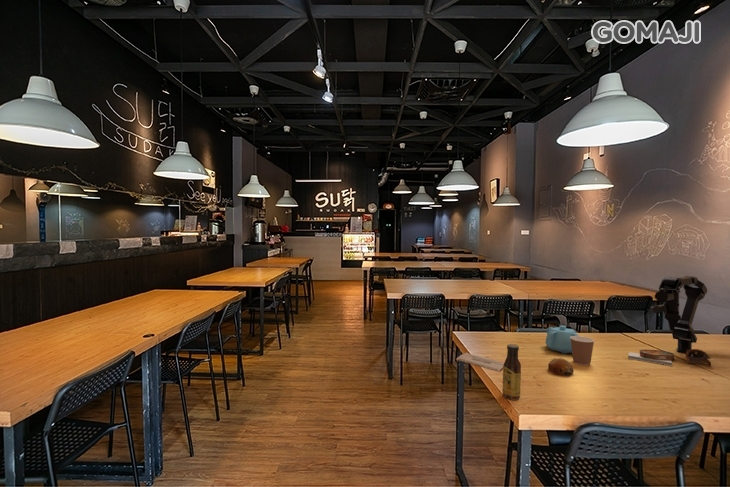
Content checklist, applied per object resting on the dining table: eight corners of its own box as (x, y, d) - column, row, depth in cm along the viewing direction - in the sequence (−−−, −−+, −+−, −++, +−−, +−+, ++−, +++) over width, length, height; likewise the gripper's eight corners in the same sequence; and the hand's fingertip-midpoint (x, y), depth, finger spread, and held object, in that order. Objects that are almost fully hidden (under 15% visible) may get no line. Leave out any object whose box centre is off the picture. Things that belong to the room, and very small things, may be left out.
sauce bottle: (499, 393, 135) (500, 342, 135) (514, 393, 135) (515, 342, 135) (507, 401, 128) (508, 348, 128) (524, 401, 129) (524, 347, 129)
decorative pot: (545, 352, 187) (545, 327, 187) (545, 344, 201) (546, 321, 201) (580, 357, 179) (581, 331, 179) (578, 349, 193) (579, 324, 193)
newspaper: (510, 366, 167) (509, 361, 167) (499, 375, 158) (499, 370, 158) (466, 354, 183) (466, 350, 182) (454, 362, 174) (454, 357, 174)
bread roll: (571, 379, 159) (569, 361, 163) (576, 377, 151) (574, 358, 154) (547, 376, 163) (546, 358, 166) (551, 374, 154) (550, 355, 157)
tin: (666, 350, 182) (679, 354, 174) (666, 356, 182) (679, 360, 173) (635, 349, 183) (646, 353, 175) (635, 355, 183) (647, 359, 175)
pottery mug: (718, 368, 166) (714, 355, 164) (698, 376, 167) (694, 362, 165) (696, 354, 177) (692, 341, 175) (677, 361, 179) (673, 348, 177)
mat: (629, 352, 187) (629, 350, 187) (671, 359, 176) (671, 356, 176) (628, 358, 178) (628, 355, 178) (672, 366, 167) (672, 363, 167)
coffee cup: (592, 361, 173) (592, 337, 173) (596, 368, 164) (596, 342, 164) (568, 358, 177) (568, 334, 177) (570, 364, 168) (571, 339, 168)
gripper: (651, 297, 196) (651, 324, 196) (652, 301, 182) (651, 331, 182) (678, 299, 189) (677, 328, 189) (681, 304, 175) (680, 334, 175)
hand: (671, 330), depth 184 cm, fingers closed
